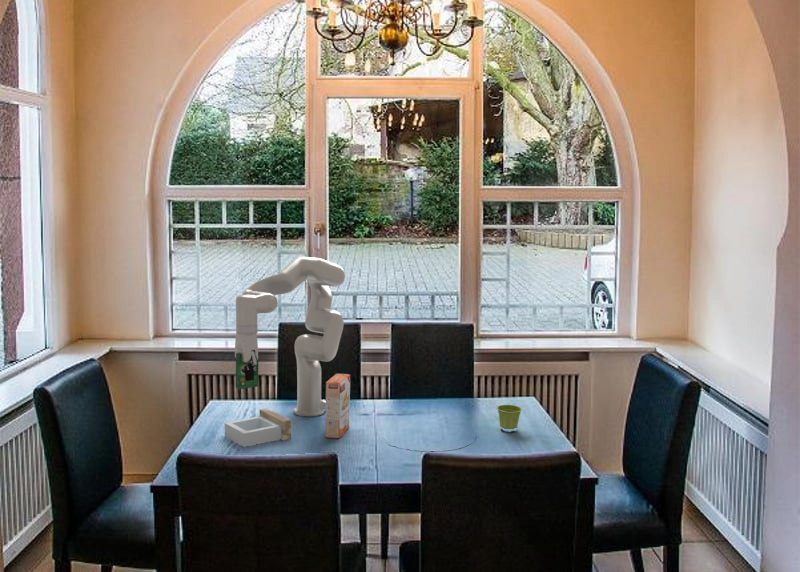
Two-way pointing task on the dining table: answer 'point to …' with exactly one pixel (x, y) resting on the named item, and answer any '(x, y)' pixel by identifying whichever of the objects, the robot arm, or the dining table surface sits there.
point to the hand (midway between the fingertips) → (247, 378)
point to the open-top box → (253, 431)
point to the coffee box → (240, 373)
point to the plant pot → (509, 416)
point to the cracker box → (337, 405)
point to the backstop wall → (278, 422)
